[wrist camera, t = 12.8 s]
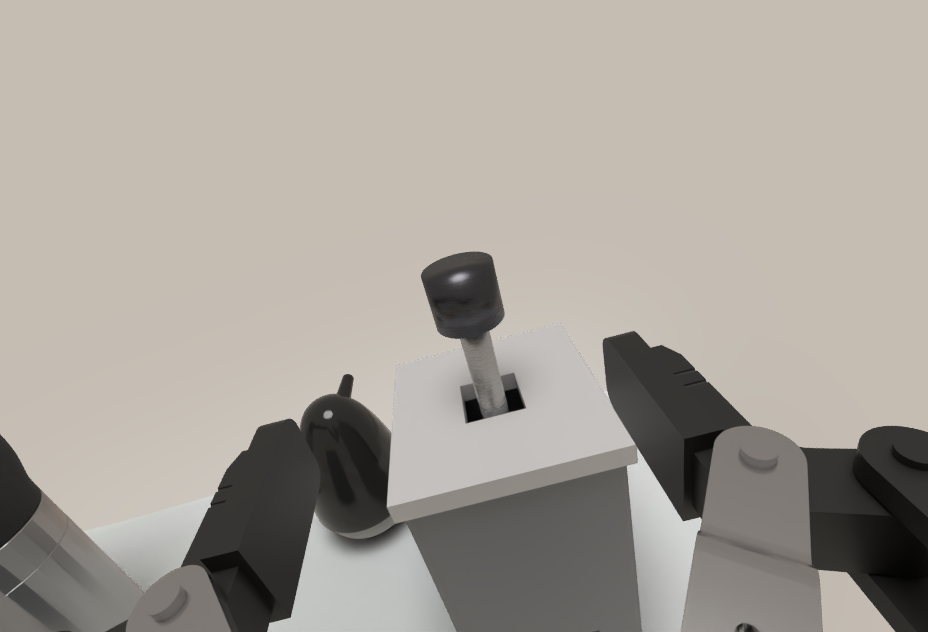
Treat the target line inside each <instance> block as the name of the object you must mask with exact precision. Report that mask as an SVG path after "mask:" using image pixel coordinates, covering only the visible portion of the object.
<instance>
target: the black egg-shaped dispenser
mask: <svg viewBox="0 0 928 632" xmlns="http://www.w3.org/2000/svg"><path fill="white" fill-rule="evenodd" d="M353 380H354V378H353V376H352V375H350V374H346V375H344V376H343V378H342V381H341V384H340V387H339V390H338V392H337V394H329V395H325V396H322V397H320V398H318V399H316V400H315V401H314V402H312V403H311V404H310V405H309V406H308V408H307V409H306V410H305V412H304V414H303V417H302V420H301V424H300V431H301V433H302V435H303V436H304V438H305V440H306V442H307V444H308V445H309V447H310V449H311V451H312V453H313V454H314V456H315V458H316V460H317V462H318V465H319V469H320V487H319V492H318V496H317V501H316V505H315V510H314V512H315V514H316V516H317V518H318V519H319V521H320V522H321V523H322V525H323V526H325V527H326V528H327V529H329V530H331V531H334V532H336V533H338V534H340V535H342V536H345V537H348V538H353V539H364V538H370V537H373V536H376V535H378V534H380V533H382V532H384V531H386V530H387V529H389V528H390V527H391V526H393V525H394V521H393V519H392V517H391V515H390V513H389V511H388V509H387V495H388V480H389V465H390V449H391V434H392V433H391V432H390V430H389V429H388V428H387V427H386V426H385V425H384V424H383V423H382V422H381V421H380V419H379V418H377V417H376V416H375V415H374V414H373V413H372V412H371V411H370V410H369V409H367V408H366V407H365V406H364V405H362V404H361V403H359V402H358V401H356V400H354V399H352V398H351V392H352V386H353Z"/></svg>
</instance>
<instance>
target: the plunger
mask: <svg viewBox="0 0 928 632" xmlns="http://www.w3.org/2000/svg"><path fill="white" fill-rule="evenodd" d="M421 279H422V282H423V285H424V288H425V291H426V295H427V298H428V301H429V304H430V307H431V311H432V314H433V317H434V320H435V324H436V327H437V330H438V332H439V333H440V334H441V335H443V336H445V337H449V338H455V339H460V340H461V344H462V347H463V351H464V354H465V358H466V361H467V365H468V368H469V372H470V375H471V379H472V382H473V386H474V389H475V393H476V396H477V400H478V403H479V406H480V410H481V413H482V417H483V419H486V418H490V417H494V416H498V415H502V414H506V413H509V409H508V405H507V401H506V397H505V393H504V389H503V385H502V381H501V377H500V373H499V368H498V364H497V360H496V356H495V352H494V348H493V344H492V340H491V336H490V333H489V331H490V330H491V329H493V328H495V327H496V326H497V325H498V324H499V323H500V322H501V321H502V319H503V318H504V308H503V304H502V299H501V295H500V290H499V286H498V282H497V277H496V273H495V268H494V264H493V259H492V257H491V256H490V255H489V254H487V253H483V252H465V253H459V254H454V255H451V256H448V257H445V258H442V259H440V260H438V261H436V262H434V263H432V264H430V265H429V266H428V267H427V268H425V269H424V270H423V272H422V274H421Z"/></svg>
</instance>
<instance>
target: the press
mask: <svg viewBox="0 0 928 632" xmlns="http://www.w3.org/2000/svg"><path fill="white" fill-rule="evenodd" d="M492 344H493V348H494V352H495V356H496V360H497V364H498V368H499V373H500V377H501V381H502V385H503V389H504V393H505V397H506V401H507V405H508V409H509V413H506V414H502V415H498V416H494V417H490V418H486V419H483V417H482V413H481V410H480V406H479V403H478V400H477V396H476V393H475V389H474V386H473V382H472V379H471V375H470V372H469V368H468V365H467V361H466V358H465V354H464V351H463V348H461V349H457V350H453V351H450V352H446V353H442V354H439V355H434V356H430V357H426V358H423V359H419V360H415V361H411V362H408V363H404V364H399V365H396V374H395V388H394V403H393V419H392V434H391V449H390V465H389V480H388V495H387V509H388V511H389V513H390V515H391V517H392V519H393V521H394V524H396V523H400V522H404V521H406V522H407V524H408V527H409V529H410V531H411V533H412V535H413V537H414V540H415V542H416V544H417V546H418V548H419V550H420V553H421V555H422V557H423V559H424V561H425V563H426V566H427V568H428V570H429V572H430V574H431V576H432V579H433V581H434V583H435V585H436V587H437V589H438V592H439V594H440V596H441V598H442V600H443V602H444V605H445V607H446V609H447V611H448V613H449V615H450V618H451V620H452V622H453V624H454V626H455V628H456V631H457V632H593V631H597V630H599V631H600V632H642V629H641V618H640V607H639V596H638V585H637V574H636V564H635V553H634V542H633V531H632V520H631V509H630V498H629V487H628V476H627V465H631V464H635V463H638V458H637V446H636V444H635V443H634V441H633V440H632V438H631V436H630V435H629V433H628V431H627V430H626V428H625V427H624V425H623V423H622V422H621V420H620V419H619V417H618V415H617V414H616V412H615V410H614V408H613V406H612V404H611V402H610V401H609V399H608V398H607V396H606V394H605V393H604V391H603V390H602V388H601V386H600V385H599V383H598V382H597V380H596V378H595V377H594V375H593V373H592V372H591V370H590V369H589V367H588V365H587V364H586V362H585V360H584V359H583V357H582V356H581V354H580V352H579V351H578V349H577V348H576V346H575V344H574V343H573V341H572V339H571V338H570V336H569V335H568V333H567V331H566V330H565V328H564V327H563V325H562V324H561V323H557V324H554V325H550V326H546V327H542V328H538V329H535V330H530V331H527V332H523V333H519V334H515V335H511V336H507V337H503V338H500V339H496V340H492Z"/></svg>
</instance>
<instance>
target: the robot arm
mask: <svg viewBox="0 0 928 632" xmlns="http://www.w3.org/2000/svg"><path fill="white" fill-rule="evenodd" d="M603 354H604V364H605V374H606V385H607V391H608V395H609V398H610V401H611V404H612V406H613V408H614V410H615V412H616V414H617V415H618V417H619V419H620V420H621V422H622V423H623V425H624V427H625V428H626V430H627V431H628V433H629V435H630V436H631V438H632V440H633V441H634V443H635V444H636V446H637V448H638V449H639V451H640V452H641V454H642V456H643V457H644V459H645V460H646V462H647V464H648V465H649V467H650V469H651V470H652V472H653V473H654V475H655V477H656V478H657V480H658V481H659V483H660V485H661V486H662V488H663V490H664V491H665V493H666V494H667V496H668V498H669V499H670V501H671V502H672V504H673V506H674V507H675V509H676V511H677V512H678V514H679V515H680V517H681V519H682V520H683V521H686V520H690V519H694V518H698V517H701V519H702V523H701V528H700V531H698V533H697V537H696V542H695V548H694V554H693V560H692V566H691V572H690V578H689V584H688V591H687V597H686V603H685V609H684V615H683V621H682V627H681V632H823V629H822V610H821V592H820V579H819V573H818V570H828V571H839V572H847V573H848V574H849V575H850V576H851V578H852V579H853V580H854V581H855V582H856V584H857V585H858V586H859V587H860V589H861V590H862V591H863V592H864V594H865V595H866V596H867V597H868V599H869V600H870V601H871V602H872V603H873V605H874V606H875V607H876V608H877V609H878V611H879V612H880V613H881V614H882V616H883V617H884V618H885V619H886V621H887V622H888V623H889V624H890V625H891V627H892V628H893V629H894V630H895V632H928V432H925V431H922V430H918V429H914V428H908V427H901V426H883V427H877V428H873V429H871V430H868V431H867V432H865V433H864V434H863V435H862V436H861V438H860V440H859V443H858V447H857V449H824V448H802V447H798V446H797V445H796V444H795V443H794V442H793V441H792V440H790V439H789V438H787V437H786V436H784V435H782V434H780V433H778V432H775V431H773V430H770V429H766V428H762V427H756V426H752V425H750V423H749V422H748V421H746V419H745V418H744V417H743V416H742V415H741V414H740V413H739V412H738V411H737V410H736V409H735V408H734V407H733V406H732V405H731V404H730V403H729V402H728V401H727V400H726V399H725V398H724V397H723V396H722V395H721V394H720V393H719V392H718V391H717V390H716V389H715V388H714V387H713V386H712V385H711V384H710V383H709V382H706V379H705V378H704V377H703V376H702V375H701V374H700V373H699V372H698V371H695V368H694V367H693V366H692V365H691V364H690V363H689V362H688V361H687V360H686V359H685V358H684V357H683V356H682V355H681V354H679V353H677V352H675V351H673V350H671V349H668V348H666V347H664V346H662V345H660V346H656V347H652V348H650V347H649V346H648V345H647V344H646V342H645V341H644V340H643V339H642V338H641V337H640V336H639V335H638V334H637V333H636V332H635V331H633V332H628V333H624V334H620V335H616V336H613V337H609V338H605V339H604V340H603ZM319 487H320V469H319V465H318V462H317V460H316V458H315V456H314V454H313V453H312V451H311V449H310V447H309V445H308V444H307V442H306V440H305V438H304V436H303V435H302V433H301V431H300V429H299V427H298V426H297V424H296V422H295V421H294V420H292V419H286V420H282V421H279V422H275V423H271V424H267V425H263V426H260V427H259V428H258V429H257V431H256V433H255V435H254V437H253V440H252V442H251V444H250V447H249V449H248V450H246V451H243V452H241V454H240V455H239V456H238V457H237V458H236V460H235V461H234V462H233V463H232V464H231V465H230V466H229V468H228V469H227V470H226V472H225V474H224V477H223V478H222V481H221V483H220V485H219V487H218V492H216V493H215V495H214V498H213V500H212V502H211V508H208V510H207V512H206V515H205V517H204V519H203V521H202V523H201V525H200V527H199V529H198V532H197V534H196V536H195V538H194V540H193V542H192V544H191V546H190V549H189V551H188V553H187V555H186V557H185V559H184V561H183V563H182V566H181V567H180V568H178V569H176V570H174V571H172V572H170V573H168V574H167V575H165V576H164V577H162V578H161V579H159V580H158V581H157V582H156V583H155V584H153V585H152V586H151V587H150V588H149V589H148V590H147V591H146V592H145V593H144V592H143V591H142V590H141V589H140V588H139V586H138V585H137V584H136V583H135V582H134V581H133V580H132V579H131V578H130V577H129V576H128V575H127V574H126V573H125V572H124V571H123V570H122V569H121V568H120V567H119V566H118V565H117V564H116V563H115V562H114V561H113V560H112V559H111V558H109V557H108V556H107V555H106V554H105V553H104V552H103V551H102V550H101V549H100V548H99V547H98V546H97V545H96V544H95V543H94V542H93V541H92V540H91V539H90V538H89V537H88V536H87V535H86V534H85V533H84V532H83V531H82V530H81V529H80V528H79V527H78V526H77V525H76V524H75V523H74V522H73V521H72V520H71V519H70V518H69V517H68V516H67V515H66V514H65V513H64V512H63V511H62V510H61V509H60V508H59V507H58V506H57V505H56V504H55V503H54V502H53V501H52V500H51V499H50V498H49V497H48V496H47V495H46V494H45V493H44V492H43V491H42V490H40V488H39V487H37V486H36V485H35V484H34V482H33V481H31V479H30V478H29V477H28V475H27V473H26V471H25V470H24V467H23V465H22V463H21V462H20V460H19V458H18V456H17V455H16V453H15V452H14V450H13V449H12V447H11V446H10V445H9V444H8V443H7V441H6V440H5V439H4V438H3V437H2V436H1V435H0V632H267V630H268V626H269V623H271V622H275V621H279V620H283V619H287V618H291V613H292V609H293V604H294V600H295V595H296V591H297V586H298V582H299V577H300V573H301V568H302V564H303V559H304V555H305V550H306V546H307V541H308V537H309V532H310V528H311V523H312V519H313V514H314V510H315V505H316V501H317V496H318V492H319ZM593 632H600V631H599V630H597V631H593Z"/></svg>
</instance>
